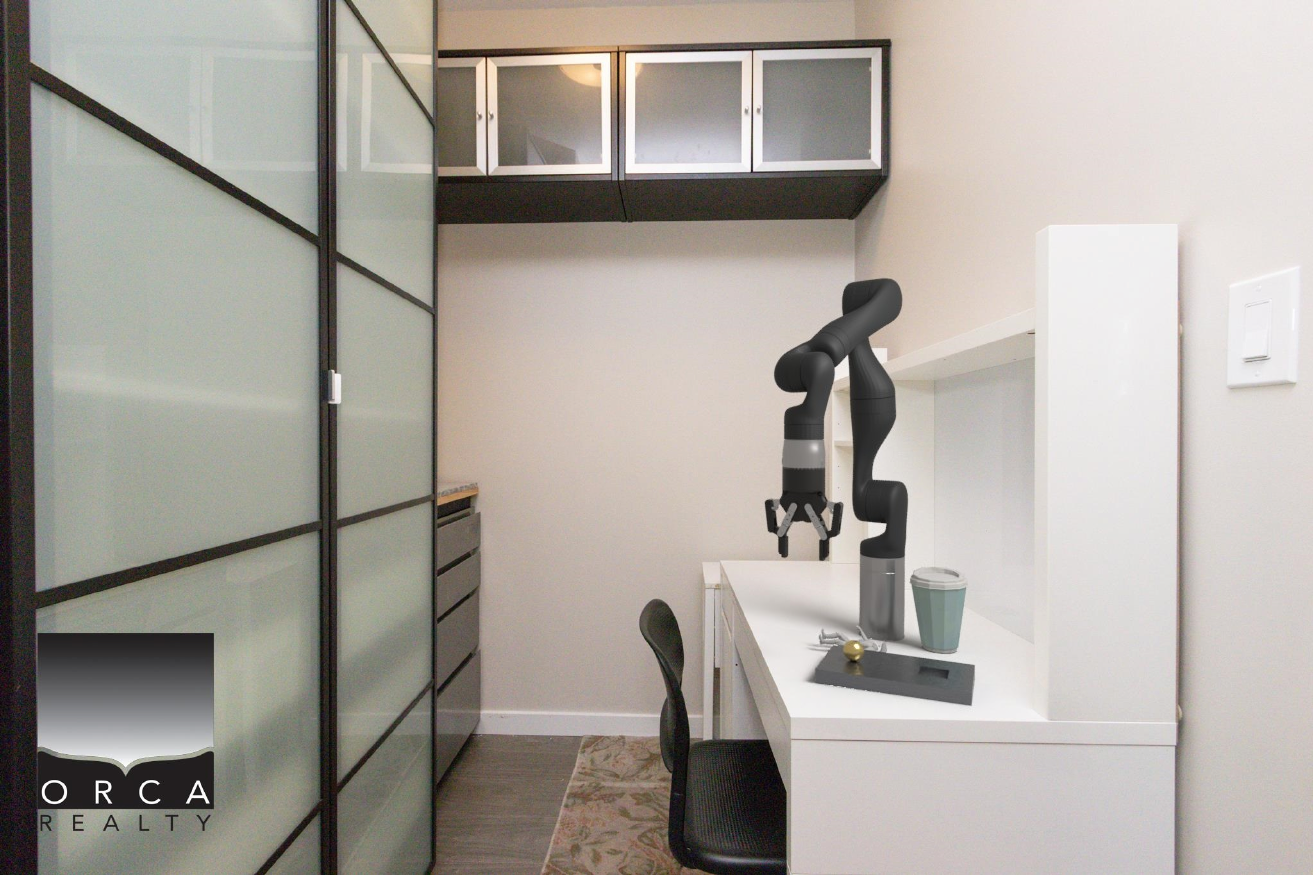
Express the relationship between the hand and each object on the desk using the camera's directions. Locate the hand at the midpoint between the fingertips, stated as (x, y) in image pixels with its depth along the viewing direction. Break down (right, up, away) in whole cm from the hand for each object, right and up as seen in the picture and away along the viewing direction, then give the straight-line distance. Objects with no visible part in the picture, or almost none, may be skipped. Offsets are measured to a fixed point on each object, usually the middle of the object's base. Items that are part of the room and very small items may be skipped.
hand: (803, 558), depth 126 cm
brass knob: (+8, -15, -4) cm, 18 cm away
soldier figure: (+6, -18, +11) cm, 22 cm away
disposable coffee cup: (+28, -20, +11) cm, 36 cm away
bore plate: (+14, -20, -7) cm, 25 cm away
